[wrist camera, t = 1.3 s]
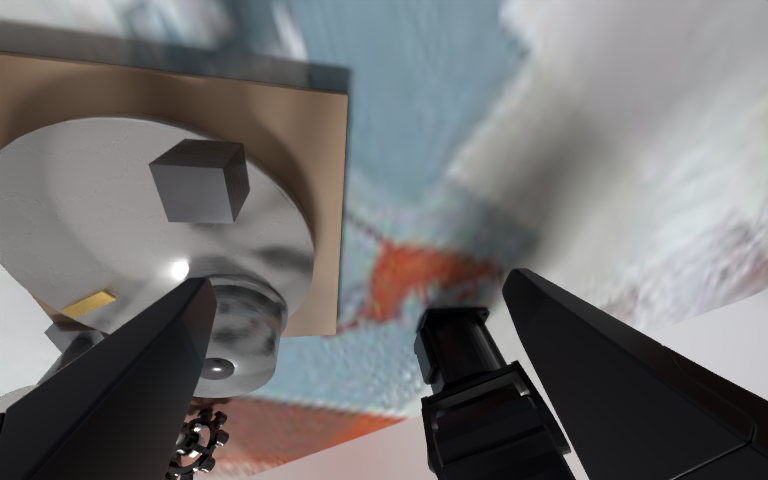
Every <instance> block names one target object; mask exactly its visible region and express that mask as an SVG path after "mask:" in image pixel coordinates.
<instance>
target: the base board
mask: <svg viewBox="0 0 768 480" xmlns="http://www.w3.org/2000/svg"><path fill="white" fill-rule="evenodd" d="M347 104H348V95H347V93H346V92H338V91H329V90H321V89H313V88H304V87H296V86H287V85H279V84H271V83H262V82H254V81H246V80H237V79H229V78H221V77H212V76H204V75H195V74H187V73H179V72H170V71H162V70H154V69H145V68H137V67H129V66H120V65H112V64H104V63H95V62H87V61H78V60H70V59H62V58H53V57H45V56H37V55H28V54H20V53H12V52H3V51H0V150H1V149H3V148H4V147H6V146H7V145H8V144H10V143H11V142H13V141H14V140H16V139H17V138H19V137H21V136H23V135H26V134H28V133H30V132H33V131H35V130H37V129H40V128H43V127H46V126H49V125H52V124H55V123H59V122H62V121H65V120H69V119H73V118H77V117H81V116H85V115H92V114H102V113H138V114H145V115H152V116H159V117H165V118H168V119H172V120H176V121H180V122H184V123H188V124H191V125H193V126H196V127H199V128H201V129H204V130H207V131H209V132H212V133H214V134H216V135H218V136H220V137H222V138H224V139H226V140H228V141H230V142H237V143H243V145H244V150H245V151H247V152H248V153H250V154H252V155H253V156H255V157H256V158H257V159H258V160H260V161H261V162H262V163H263V164H265V165H266V166H267V167H268V168H270V169H271V170H272V171H273V172H274V173H275V174H276V175H277V176H278V177H279V178H280V179H281V180H282V181H283V182H284V183H285V184H286V185H287V187H288V188H289V189H290V190H291V192H292V193H293V194H294V195H295V197H296V198H297V200H298V202H299V203H300V205H301V207H302V208H303V210H304V212H305V214H306V216H307V219H308V221H309V223H310V227H311V230H312V234H313V239H314V249H315V252H314V269H313V278H312V281H311V285H310V288H309V290H308V293H307V295H306V297H305V299H304V300H303V302H302V303H301V305H300V306H299V307H298V308H297V309H296V311H295V312H294V313H293V314H292V315H291V316H290V317H288V320H287V325H286V328H285V330H284V332H283V333H282V335H281V336H280V338H281V337H298V336H316V335H333V334H336V317H337V298H338V279H339V259H340V240H341V220H342V201H343V182H344V162H345V143H346V123H347ZM29 293H30V292H29ZM30 294H31V293H30ZM31 295H32V296H33V298H34V299H35V300H36V301H37V303H38V304H39V305H40V306H41V308H42V309H43V310H44V311H45V313H46V314H47V315H48V316H49V317H50V319H51V320H52V321H53V322H54V323H60V322H78V321H76V320H74V319H72V318H70V317H68V316H66V315H64V314H62V313H60V312H59V311H57V310H55V309H53V308H52V307H50V306H48V305H47V304H45V303H44V302H43V301H41V300H40V299H38V298H37V297H35V296H34V295H33V294H31Z"/></svg>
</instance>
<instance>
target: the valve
mask: <svg viewBox="0 0 768 480" xmlns="http://www.w3.org/2000/svg"><path fill="white" fill-rule="evenodd" d="M214 415H215V416H216V418H215V419H214V420H213V421H210V420H211V418H212V416H213V413H212V412H211V411H209V410H207V409H204V410H201V411H200V412H199V413H198V415H197V416H198V417H199V418H196V419H193V420H191V421H190V422H189V423H187V422H184V423H183V426H182V429H181V432H180V434H179V437H178V440H177V443H176V446H175V448H174V451H173V454H172V457H171V460H170V463H169V465H168V466H170V467H171V468H170V470H168V471H167V472H166V474H165V477H164V479H163V480H176V478H177V476H178V475H181V478H180V480H193V474H194V473H195V471H197V470H199V471H202V472H205V473H208V472H210V471H211V470H212V469H213V467H214V465H215V459H214V458H212V453H213V451H214V449H215V448H216V447H217V446H222V445H224V444H225V443H226V442H227V441H228V438H229V434H228V433H227V432H225V431H223V430H219V427H220V426H222V425H223V424H224V423H225V422H226V420H227V415H226V414H224V413H222V412H221V411H218V412H216V413H215V414H214ZM203 428H209V429H210V440H209V443H208V445H207V447H204V443H205V439H204V438H202V437H201V435H200V433H199V432H198V431H199V430H201V429H203ZM198 453H200V454H202V455H201V456H200V457H199V458H198V459H197V460H196V461H195V462H194V463H192V464H191V465H188V466H185V467H183V466H182V465H181V456H191V457H194V456H196V455H197V454H198Z"/></svg>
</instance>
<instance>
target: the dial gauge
mask: <svg viewBox="0 0 768 480" xmlns="http://www.w3.org/2000/svg"><path fill="white" fill-rule="evenodd" d="M44 333H45V334H46V335H47V336H48V337H49V339H50V340H51V341H52V342H53V343H54V344H55V346H56V347H57V348H58V349H59V350H60V351H61V353H62V354H61V356H60V357H59V358H58V359H57V360H56V362H55V363H54V364H53V365H52V366H51V368H50V369H49V370H48V371H47V372H46V373H45V375H44V376H43V377H42V378H41V379H40V381H39V382H38V383H37V384H36V385H32V386H27V387H24V388H20V389H17V390H15V391H12V392H10V393H7V394H5V395H3V396H1V397H0V413H2V412H5V411H6V409H7V408H8V407H9V406H11V405H12V404H13V403H15V402H16V401H18V400H19V399H20V398H22V397H23V396H25V395H26V394H27V393H29V392H30V391H31V390H33V389H34V388H36V387H37V386H38V385H40V384H41V383H43V382H44V381H45V380H47V379H48V378H50V377H51V376H52V375H54V374H55V373H57V372H58V371H59V370H61V369H62V368H64V367H65V366H66V365H68V364H69V363H71V362H72V361H73V360H75V359H76V358H78V357H79V356H80V355H82V354H83V353H85V352H86V351H87V350H89V349H90V348H92V347H93V346H94V345H96V344H97V343H98V342H100V341H101V340H103V339H104V338H105V337H107V336H108V335H110V334H108V333H105V332H102V331H99V330H97V329H94V328H92V327H89V326H87V325H84V324H82V323H80V322H60V323H53V324H52V325H51V326H50V327H49V328H48V329H47V330H46V331H45V332H44Z"/></svg>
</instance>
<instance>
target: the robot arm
mask: <svg viewBox="0 0 768 480" xmlns="http://www.w3.org/2000/svg"><path fill="white" fill-rule="evenodd" d="M502 293H503V297H504V300H505V302H506V305H507V307H508V310H509V313H510V315H511V318H512V321H513V323H514V326H515V328H516V331H517V334H518V336H519V338H520V341H521V343H522V345H523V347H524V349H525V351H526V353H527V355H528V357H529V359H530V361H531V363H532V365H533V367H534V369H535V371H536V373H537V375H538V377H539V379H540V381H541V383H542V385H543V387H544V389H545V391H546V393H547V395H548V397H549V399H550V401H551V403H552V405H553V407H554V409H555V411H556V414H557V415H558V418H559V419H560V422H561V423H562V426H563V428H564V429H565V432H566V434H567V436H568V438H569V440H570V441H571V444H572V446H573V448H574V450H575V452H576V454H577V456H578V458H579V460H580V462H581V464H582V466H583V468H584V470H585V472H586V474H587V476H588V478H589V480H768V401H767V400H765V399H763V398H761V397H759V396H758V395H756V394H753V393H752V392H750V391H748V390H746V389H744V388H742V387H740V386H738V385H736V384H734V383H732V382H730V381H728V380H727V379H725V378H723V377H721V376H719V375H717V374H715V373H713V372H711V371H709V370H708V369H706V368H704V367H702V366H700V365H698V364H696V363H695V362H693V361H691V360H689V359H687V358H686V357H684V356H682V355H680V354H678V353H677V352H675V351H673V350H671V349H670V348H668V347H666V346H662V345H661V344H660V343H658V342H657V341H655V340H653V339H652V338H650V337H648V336H646V335H645V334H643V333H641V332H639V331H637V330H636V329H634V328H632V327H630V326H628V325H627V324H625V323H623V322H621V321H620V320H618V319H616V318H614V317H612V316H611V315H609V314H607V313H605V312H604V311H602V310H600V309H598V308H596V307H595V306H593V305H591V304H589V303H588V302H586V301H584V300H582V299H580V298H579V297H577V296H575V295H573V294H571V293H570V292H568V291H566V290H564V289H563V288H561V287H559V286H557V285H555V284H554V283H552V282H550V281H548V280H547V279H545V278H543V277H541V276H539V275H538V274H536V273H534V272H532V271H531V270H529V269H526V268H514V269H512V270H511V271H510V273H509V275H508V277H507V279H506V281H505V283H504V286H503V289H502ZM216 309H217V300H216V296H215V293H214V290H213V287H212V284H211V281H210V280H209V278H207V277H192V278H188V279H187V280H185V281H184V282H182V283H181V284H179V285H178V286H177V287H175V288H174V289H172V290H171V291H170V292H168V293H167V294H165V295H164V296H163V297H161V298H160V299H159V300H157V301H156V302H154V303H153V304H152V305H150V306H149V307H147V308H146V309H145V310H143V311H142V312H140V313H139V314H138V315H136V316H135V317H133V318H132V319H131V320H129V321H128V322H126V323H125V324H124V325H122V326H121V327H119V328H118V329H117V330H115V331H114V332H112V333H111V334H110V335H108V336H107V337H105V338H104V339H103V340H101V341H100V342H98V343H97V344H96V345H94V346H93V347H92V348H90V349H89V350H87V351H86V352H85V353H83V354H82V355H80V356H79V357H78V358H76V359H75V360H73V361H72V362H71V363H69V364H68V365H66V366H65V367H64V368H62V369H61V370H59V371H58V372H57V373H55V374H54V375H52V376H51V377H50V378H48V379H47V380H45V381H44V382H43V383H41V384H40V385H38V386H37V387H36V388H34V389H33V390H31V391H30V392H29V393H27V394H26V395H25V396H23V397H22V398H20V399H19V400H18V401H16V402H15V403H13V404H12V405H11V406H9V407H8V408H7V409H6V411H5V412H2V413H0V480H163V479H164V477H165V474H166V471H167V468H168V465H169V463H170V460H171V457H172V454H173V451H174V448H175V446H176V443H177V440H178V437H179V434H180V432H181V429H182V426H183V423H184V420H185V417H186V415H187V412H188V409H189V406H190V403H191V401H192V398H193V395H194V392H195V389H196V386H197V384H198V381H199V378H200V375H201V372H202V369H203V366H204V362H205V358H206V354H207V349H208V345H209V340H210V336H211V332H212V327H213V323H214V318H215V314H216ZM488 316H489V311H488V309H487V308H463V309H439V310H428V311H427V312H426V313H425V315H424V318H423V321H422V325H421V328H420V329H419V330H418V333H417V337H416V340H415V343H414V352H415V354H416V355H417V358H418V362H419V365H420V369H421V372H422V376H423V379H424V382H425V383H426V384H427V385H428V384H431V388H432V391H433V394H434V395H431V396H429V397H427V396H426V397H423V398H421V402H422V409H421V410H422V417H423V423H424V429H425V436H426V442H427V454H428V455H427V456H428V466H429V469H430V470H431V471H432V472H433V473H435V474H436V475H437V478H438V480H576V479H575V477H574V475H573V473H572V472H571V470H570V468H569V466H568V464H567V462H566V460H565V459H564V457H563V455H565V454H568V453H571V449H570V446H569V444H568V442H567V440H566V438H565V436H564V434H563V432H562V430H561V429H560V427H559V425H558V423H557V421H556V420H555V418H554V416H553V414H552V413H551V411H550V410H549V408H548V406H547V405H546V403H545V402H544V400H543V398H542V397H541V395H540V394H539V392H538V391H537V389H536V388H535V386H534V385H533V383H532V382H531V380H530V378H529V377H528V375H527V374H526V372H525V371H524V369H523V368H522V366H521V365H520V363H519V361H518V360H516V361H513V362H511V363H512V364H509V365H507V363H506V362H505V360H504V358H503V356H502V354H501V353H500V351H499V349H498V347H497V345H496V344H495V342H494V340H493V338H492V336H491V334H490V333H489V331H488V329H487V327H486V325H485V322H486V320H487V318H488ZM522 392H524V394H525V395H522V396H521V395H520V393H522Z"/></svg>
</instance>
